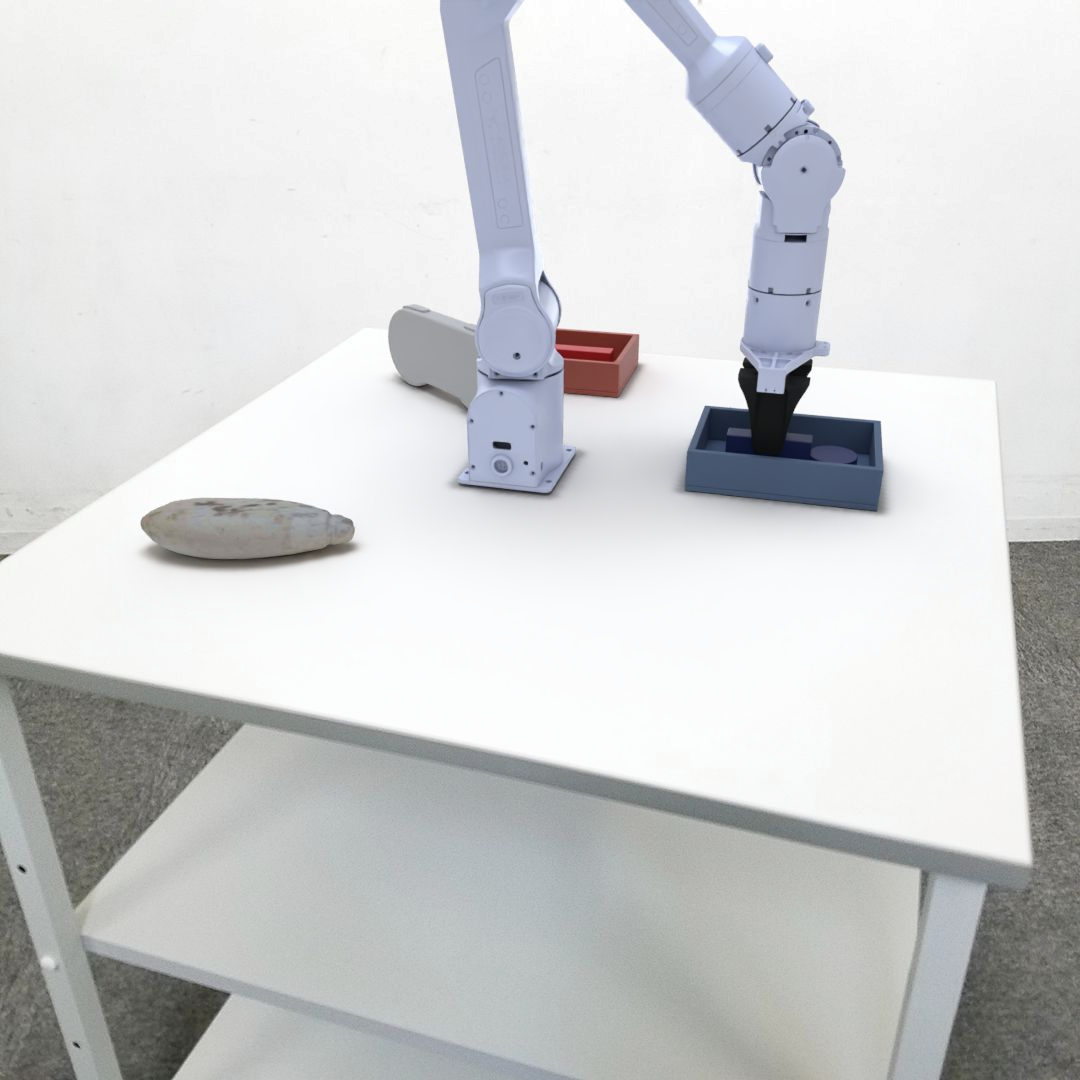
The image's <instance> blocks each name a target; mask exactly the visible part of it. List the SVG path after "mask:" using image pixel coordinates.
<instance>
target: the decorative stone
mask: <svg viewBox="0 0 1080 1080" xmlns="http://www.w3.org/2000/svg"><path fill="white" fill-rule="evenodd" d="M140 527H141V530H142V531H143V532H144V533H145V535H146V536H147V537H148V538H149V539H151V541H152V542H154V543H155V544H157V545H158V546H160V547H162V548H164V549H166V550H168V551H171V552H173V553H176V554H180V555H184V556H189V557H194V558H201V559H211V560H248V559H263V558H271V557H281V556H288V555H289V556H290V555H295V554H299V553H306V552H311V551H316V550H321V549H324V548H326V547H328V546H329V545H332V546H337V545H341V544H344V543H348V542H350V541H352V540H353V538H354V535H355V532H356V526H355V525H354V521H353V519H351V518H349V517H346V516H344V515H342V514H336V513H334V514H332V513H331V512H330V511H329V510H327V509H323V508H321V507H317V506H314V505H311V504H306V503H302V502H297V501H292V500H286V499H285V500H284V499H276V498H259V497H252V498H250V497H248V498H247V497H194V498H186V499H179V500H173V501H170V502H168V503H166V504H163V505H161V506H159V507H156V508H155V509H153V510H151V511H149V512H147V514H145V515H144V516H142V518H141V520H140Z"/></svg>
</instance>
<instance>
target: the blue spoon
mask: <svg viewBox="0 0 1080 1080" xmlns="http://www.w3.org/2000/svg"><path fill="white" fill-rule="evenodd" d="M812 439H813V435H805V434H794V433H787V434H786V438H785V441H784V444H783V447H782V450H781V452H780V454H779V455H778V456H775V455H764V454H755V453H754V450H753V445H752V437H751V430H750V429H739V428H729V429H728V432H727V436H726V448H725V452H728V453H738V454H749V455H759V456H769V457H779V458H789V459H800V460H810V461H820V462H830V463H841V464H851V465H857V460H858V456H857V454H856V453H855V452H853V451H852V450H849V449H847V448H843V447H839V446H818V447H814V448H812ZM811 448H812V449H811Z"/></svg>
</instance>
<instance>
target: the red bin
mask: <svg viewBox="0 0 1080 1080" xmlns="http://www.w3.org/2000/svg"><path fill="white" fill-rule="evenodd" d="M555 334H556V339H555V344H561V345H574V346H587V347H600V348H613V349H614V362H604V361H591V360H579V359H566V358H563V359H564V366H563V367H564V394H577V395H588V396H598V397H610V398H619V396H621V393H622V392H623V390H624V388H625V387H626V385H627V384H628V382H629V380H630V379H631V377H632V375H633V374H634V373H635V370H636V369H637V368H638V366H639V351H640V334H639V333H626V332H614V331H600V330H587V329H572V328H558V327H557V329H556V333H555Z"/></svg>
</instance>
